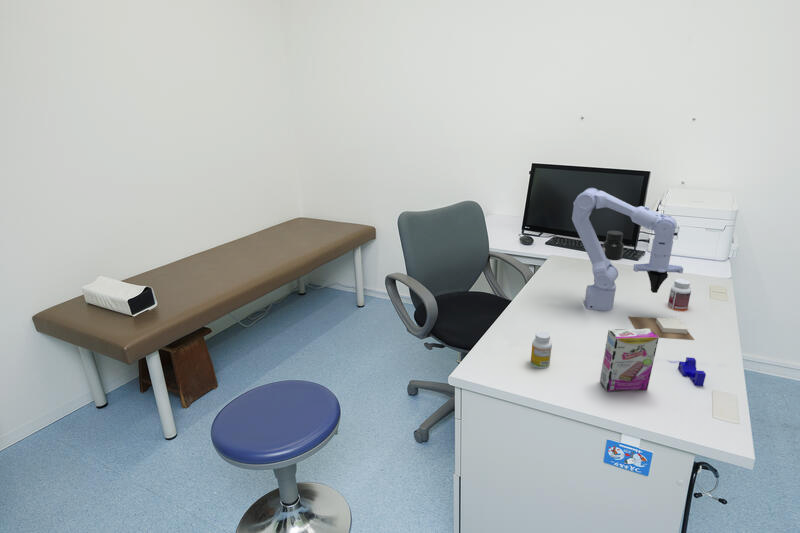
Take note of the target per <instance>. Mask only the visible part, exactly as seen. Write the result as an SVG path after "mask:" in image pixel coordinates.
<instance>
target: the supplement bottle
mask: <svg viewBox="0 0 800 533" xmlns="http://www.w3.org/2000/svg"><path fill="white" fill-rule="evenodd" d="M552 344H553V343H552V341H551V334H550V333H548V331H537V332H536V333H535V338H534V339H533V340H532V344H531V353H530V364H531V365H532V366H533V367H535V368H538V369H546V368H549V366H550V364H551V356H552V346H553V345H552Z"/></svg>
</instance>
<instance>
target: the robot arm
mask: <svg viewBox="0 0 800 533" xmlns="http://www.w3.org/2000/svg"><path fill="white" fill-rule="evenodd" d="M572 203H573V208H572V214H571V215H572V216H571V221H572V223H573V225H574V227H575V229H576V232H577V234H578V236H579V238H580V241H581V243H582V245H583V248H584V249H585V252H586V254H587V255H588V258H589V261H590V262H591V266H592V274H593V278H594V279H593V284H589V285H588V284H587V286H586V288H585V297H584V305H585V306H586V307H585V308H586V309H587V310H594V311H601V312H608V311H612V310H613V309H614V302H615V297H616V289H617V286H616V283H615V281H616V280H617V279H618V277H619V270H618V269H617V268H616V266H614V264H613V263H612V261H611V259H607V258H606V256H605V253H604V251H603V249H602V248H603V246H602V245H601V243H600V241H599V238H598V237H597V234H596V231H595V229H594V227H593V224H592V223H591V221H590V215H591V214H592V211H593V210H594V208H595V209H596V210H597V209H598V210H599V209H603V208H607V209H609V210H610V209H611V210H613V211H616V212H618V213H621V214H623V215H626V216H628V217H630V219H631V221H632V223H635V224H636V225H638V226H641V227H643V228H645V229H647V230H649V231H653V232H654V236H653V239H652V245H651V250H650V254H649V255H650V256H649V261H648V263H637V264H633V269H632V270H633V271H634V272H636V273H639V272H646V273H647V276H648V278H649V284H650V291H651V293H655V294H656V293H658V291H659V289H660V287H661V286H662V284H663V283H664V282H665V280H667V278H668V277H669V273H678V274H683V272H684V267H683V266H682V265H676V264H670V260H671V255H672V251H673V250H672V249H673V246H674V245H673V244H674V238H675V236H674V234H675V233H676V229H677V225H678V224H677V221H676V219H675V218H674V217H672V216H671V215H667V214H665V213H662V212H661V213H659V212H656V211H654V210H652V209H650V208H651V207H650V206H648V205H645V206H643V205H640V206H633V205H631V204H630V203H627V202H625V201H623V200H622V199H619V198H617V197H616V196H613V195H611V194H609V193H607V192H606V191H604V190H599V189H597V188H595V187H589V188H586V189H585V190H584V191H583V192H580V193H579V194H578V195H577V197H576V198H575V200H574V201H573V202H572Z"/></svg>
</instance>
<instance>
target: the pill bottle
mask: <svg viewBox="0 0 800 533" xmlns="http://www.w3.org/2000/svg"><path fill="white" fill-rule="evenodd" d="M690 286H691V281H690V280H687V279H683V278H676V279H675V280H674V283H673V285H672V286H671V287H670V292H669V296H668V302H667V307H668V308H669V309H671V310H673V311H677V312H685V311H688V308H689V305H690V298H691V293H692V289H691V288H690Z"/></svg>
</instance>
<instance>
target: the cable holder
mask: <svg viewBox="0 0 800 533" xmlns="http://www.w3.org/2000/svg"><path fill="white" fill-rule="evenodd" d="M677 369H678V370H679V372H680V374H681V375H682V377H685V378H686V377H687V378H689V379H690V380H691V382H692V384H693V386H698V387H703V386H704V383H705V380H706V375H707V374H706V372H705V371H704V370H697V360H696V358H695V357H689V356H688V357H685V361H679V363H678V367H677Z"/></svg>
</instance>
